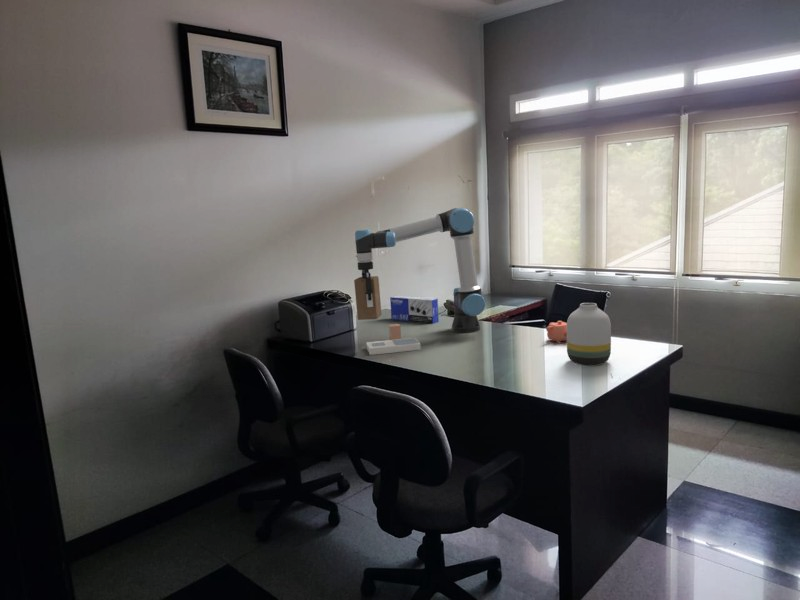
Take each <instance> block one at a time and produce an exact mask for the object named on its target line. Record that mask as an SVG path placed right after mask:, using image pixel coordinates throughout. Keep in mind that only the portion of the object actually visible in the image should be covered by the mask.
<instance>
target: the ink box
mask: <svg viewBox="0 0 800 600" xmlns="http://www.w3.org/2000/svg"><path fill="white" fill-rule="evenodd" d="M389 299H390V314H391V315H390V317H391V318H390V319H391V320H392V321H398V320H399V321H400V322H408V321H411V322H410V323H418V322H420V324H430V325H434V324H436V323H439V321H440V319H439V304H438V301H439V299H438V298H436V297H422V296H420V297H419V296H407V295H406V296H405V295H395V296H390V298H389Z"/></svg>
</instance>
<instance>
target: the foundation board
mask: <svg viewBox="0 0 800 600" xmlns="http://www.w3.org/2000/svg"><path fill="white" fill-rule="evenodd" d="M365 343H366V350H367V352H368V353H369V355H370V356H374V355H383V354H392V353H402V352H411V351H412V352H413V351H421V343H420V341H418V340H417V338H415V337H410V338H409V337H408V338H401V339H396V340H390V339H389V340H388V339H386V340H377V341H367V342H365Z"/></svg>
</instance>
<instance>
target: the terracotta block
mask: <svg viewBox="0 0 800 600" xmlns="http://www.w3.org/2000/svg"><path fill="white" fill-rule="evenodd" d="M388 332H389V334H388V335H389V340H396V339H402V333H401V332H402V331H401V325H400V323H393V324H388Z"/></svg>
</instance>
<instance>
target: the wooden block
mask: <svg viewBox="0 0 800 600" xmlns="http://www.w3.org/2000/svg"><path fill="white" fill-rule="evenodd" d="M370 277H371V285H372V291H373V292H372V299H373V307H367V296H366V294H365V292H366V280H365V279H363V278H362V276H360V277H357V278H355V279H354V280H353V281H354V293H355V304H356V313H357V320H358V321H363V320H365V321H367V320H368V321H369V320H378V319H379V318H380V317H381V316H382V305H381V293H380V292H381V291H380V282H379V281H380V279H379V276H377V275H376V276H373V275H371V276H370Z"/></svg>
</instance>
